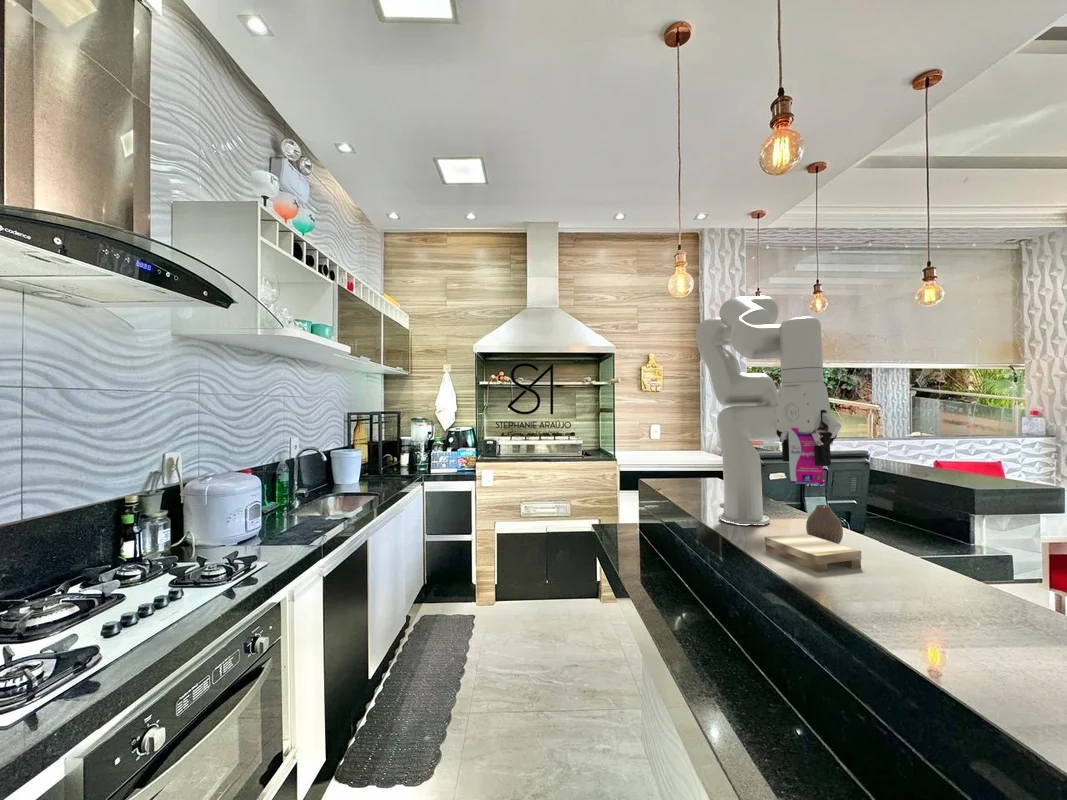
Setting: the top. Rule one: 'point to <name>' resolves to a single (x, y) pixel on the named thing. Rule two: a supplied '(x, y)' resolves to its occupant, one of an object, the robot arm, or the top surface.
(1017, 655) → the top surface
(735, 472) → the robot arm
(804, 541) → the platform
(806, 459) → the supplement box
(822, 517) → the vase
